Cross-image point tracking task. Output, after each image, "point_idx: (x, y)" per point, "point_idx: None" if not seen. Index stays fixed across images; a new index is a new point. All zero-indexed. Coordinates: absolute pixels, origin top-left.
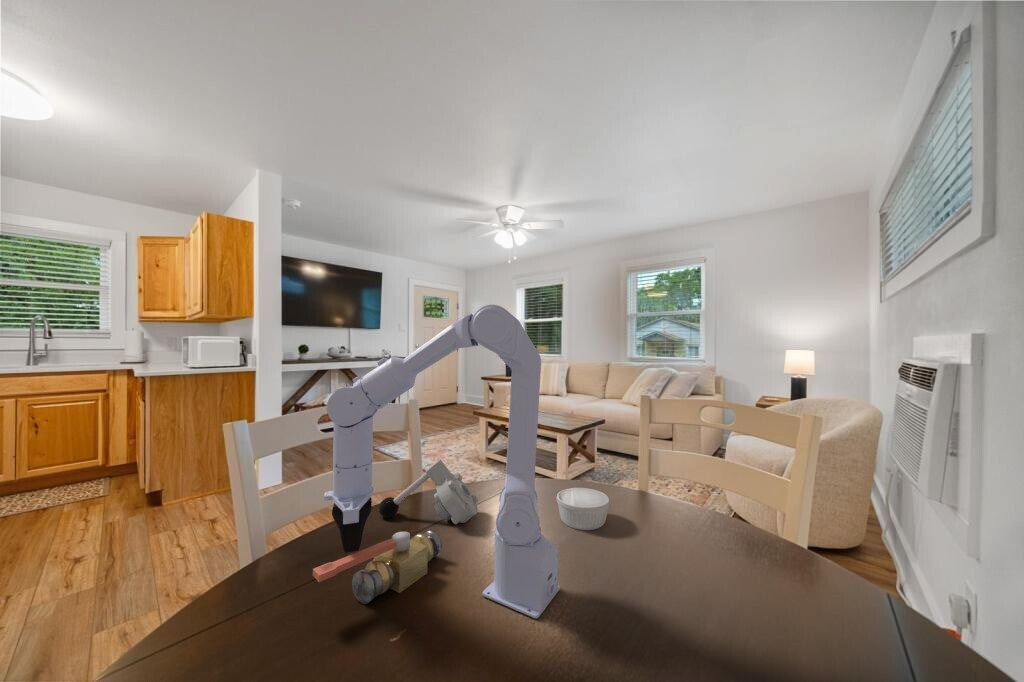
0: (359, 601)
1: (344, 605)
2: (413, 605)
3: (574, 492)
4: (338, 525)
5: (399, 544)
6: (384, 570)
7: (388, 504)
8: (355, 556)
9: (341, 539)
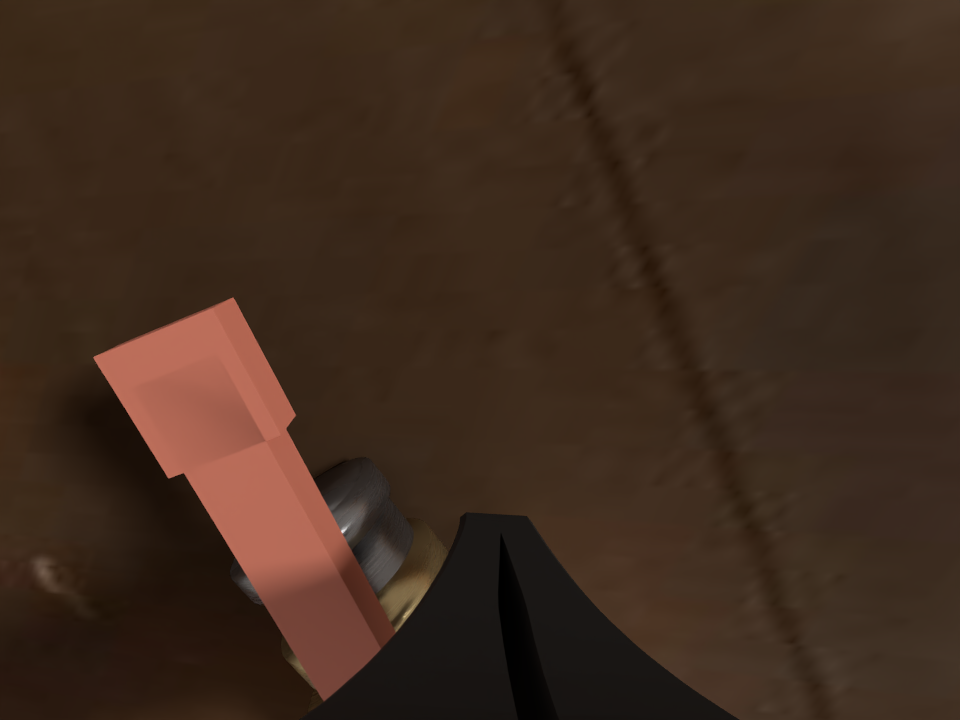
0: (332, 468)
1: (337, 402)
2: (228, 660)
3: None
4: (355, 675)
5: None
6: (293, 666)
7: None
8: (298, 597)
9: (446, 563)
